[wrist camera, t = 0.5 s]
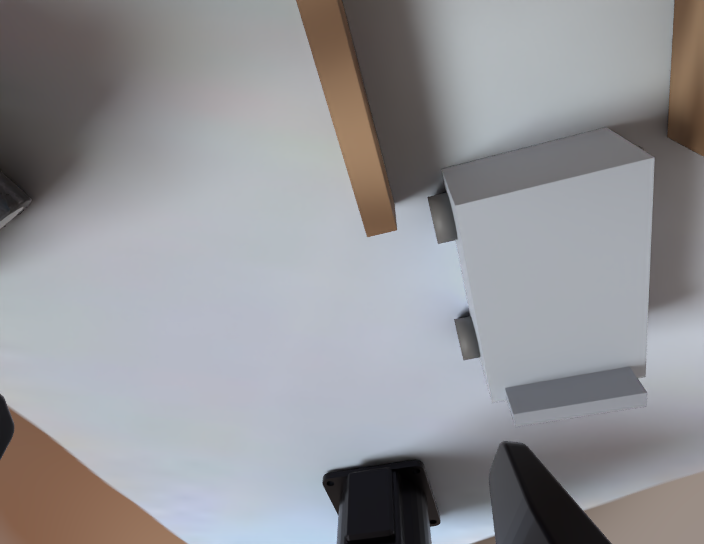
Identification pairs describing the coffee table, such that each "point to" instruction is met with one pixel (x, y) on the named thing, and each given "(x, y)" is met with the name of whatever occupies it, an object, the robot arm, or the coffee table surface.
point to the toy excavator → (11, 200)
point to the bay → (359, 131)
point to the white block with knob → (555, 272)
